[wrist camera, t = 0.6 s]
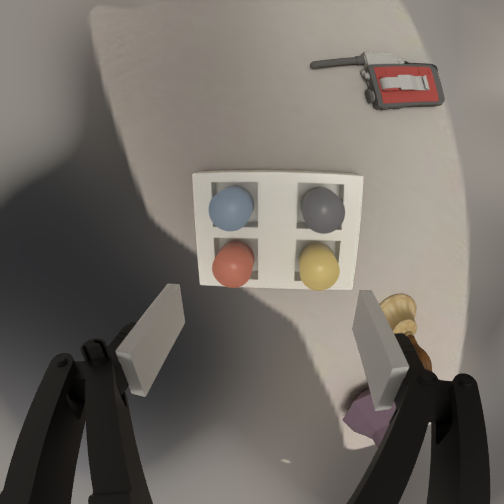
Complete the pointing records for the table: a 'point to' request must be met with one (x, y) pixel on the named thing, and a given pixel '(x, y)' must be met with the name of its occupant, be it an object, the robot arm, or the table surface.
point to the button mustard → (318, 267)
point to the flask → (368, 417)
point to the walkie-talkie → (394, 80)
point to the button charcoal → (322, 210)
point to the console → (278, 224)
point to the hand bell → (404, 321)
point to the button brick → (233, 264)
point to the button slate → (231, 208)
